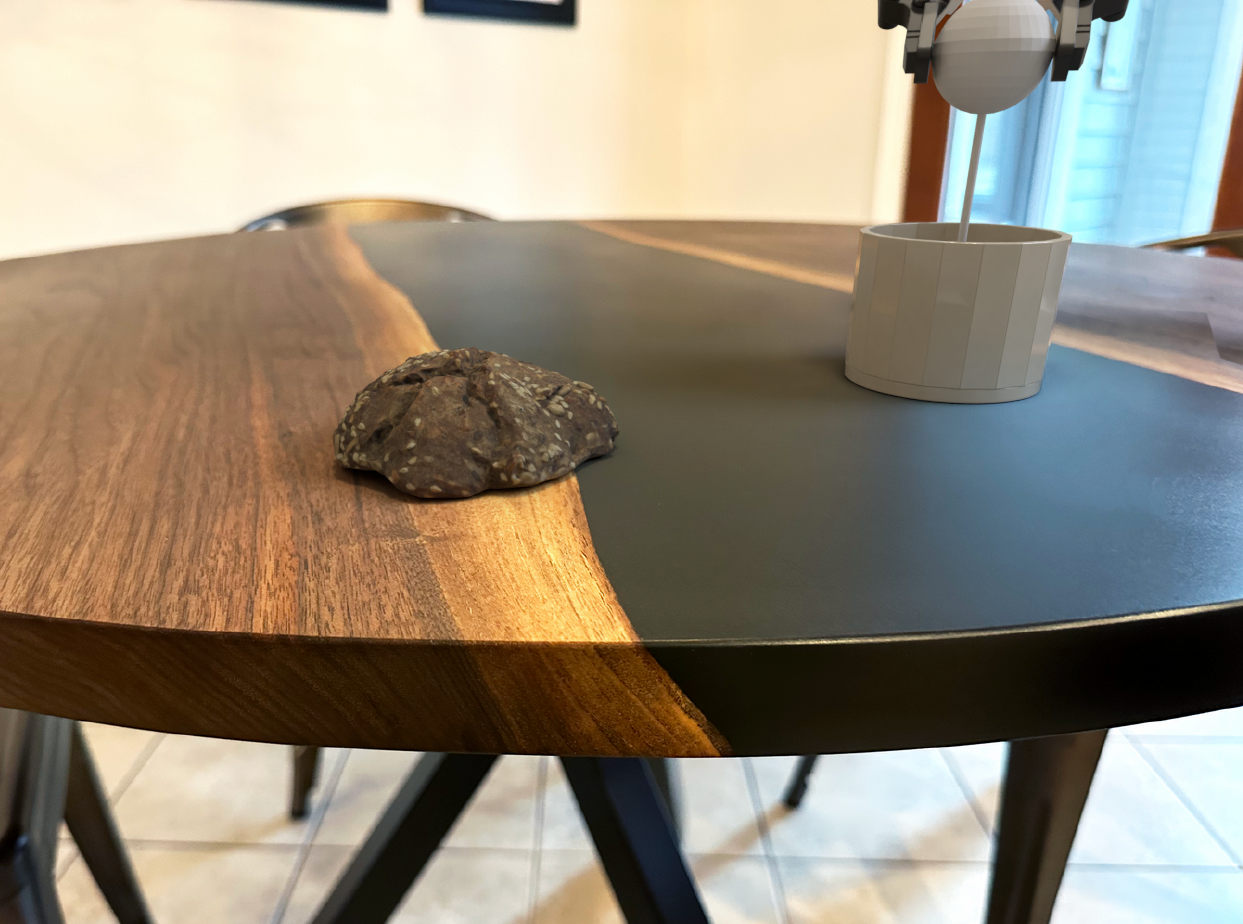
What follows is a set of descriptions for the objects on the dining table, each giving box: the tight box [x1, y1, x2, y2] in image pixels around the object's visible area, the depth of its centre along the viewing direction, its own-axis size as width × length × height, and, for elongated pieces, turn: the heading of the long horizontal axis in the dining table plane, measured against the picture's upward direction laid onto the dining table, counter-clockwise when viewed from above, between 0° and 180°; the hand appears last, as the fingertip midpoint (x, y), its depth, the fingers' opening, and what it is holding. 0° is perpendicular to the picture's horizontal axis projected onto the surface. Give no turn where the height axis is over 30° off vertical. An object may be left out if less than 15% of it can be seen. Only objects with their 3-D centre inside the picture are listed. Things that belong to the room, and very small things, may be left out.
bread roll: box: [332, 346, 621, 499], centre depth 44 cm, size 13×12×5 cm
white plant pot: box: [844, 221, 1074, 404], centre depth 55 cm, size 11×11×8 cm
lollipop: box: [930, 0, 1056, 242], centre depth 52 cm, size 6×6×15 cm
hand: (990, 68), depth 49 cm, fingers closed on lollipop, 6 cm apart
